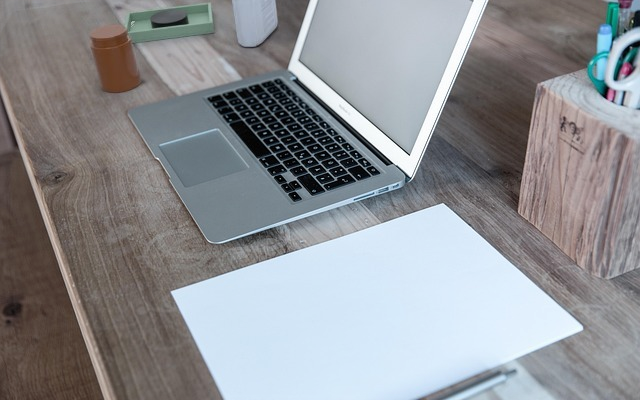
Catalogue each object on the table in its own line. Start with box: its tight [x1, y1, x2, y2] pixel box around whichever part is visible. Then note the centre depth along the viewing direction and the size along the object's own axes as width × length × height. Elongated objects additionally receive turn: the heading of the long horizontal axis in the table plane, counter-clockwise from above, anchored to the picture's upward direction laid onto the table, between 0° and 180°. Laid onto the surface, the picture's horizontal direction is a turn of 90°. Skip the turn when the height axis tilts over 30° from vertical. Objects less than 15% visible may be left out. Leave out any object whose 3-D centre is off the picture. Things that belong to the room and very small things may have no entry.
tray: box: [123, 2, 215, 44], centre depth 125 cm, size 15×10×2 cm
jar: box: [89, 24, 142, 94], centre depth 105 cm, size 6×6×8 cm
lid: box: [150, 10, 189, 29], centre depth 125 cm, size 6×6×2 cm
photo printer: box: [231, 0, 279, 48], centre depth 116 cm, size 10×4×12 cm, turn 162°
